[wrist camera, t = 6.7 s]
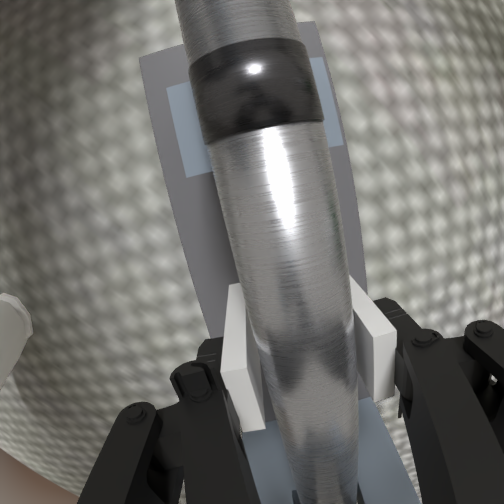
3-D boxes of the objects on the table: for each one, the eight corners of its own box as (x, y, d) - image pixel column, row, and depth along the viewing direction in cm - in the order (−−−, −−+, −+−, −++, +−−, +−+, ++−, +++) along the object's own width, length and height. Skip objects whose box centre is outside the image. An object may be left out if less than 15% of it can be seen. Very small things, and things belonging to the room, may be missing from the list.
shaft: (178, -1, 8) (156, -49, 5) (270, -18, 8) (278, -71, 5) (302, 505, 15) (308, 543, 12) (350, 494, 15) (360, 531, 12)
